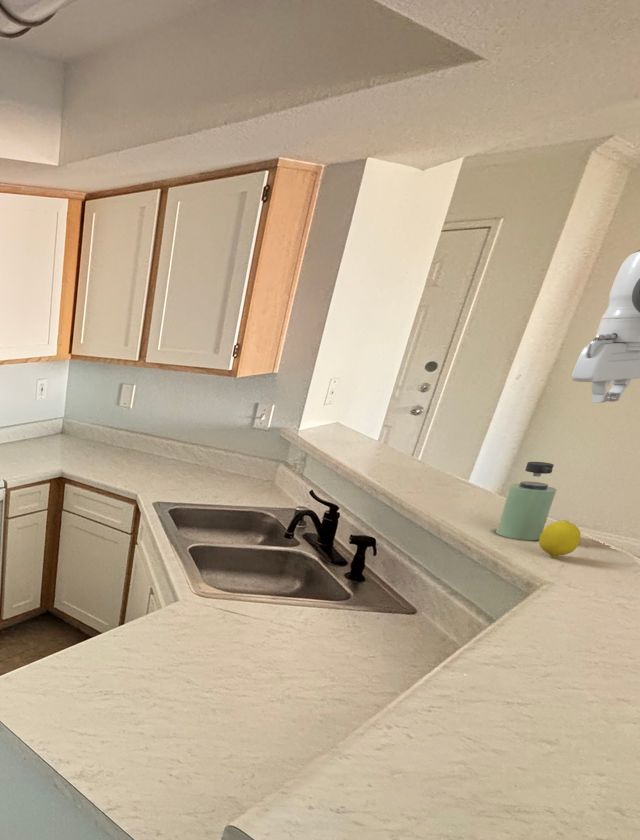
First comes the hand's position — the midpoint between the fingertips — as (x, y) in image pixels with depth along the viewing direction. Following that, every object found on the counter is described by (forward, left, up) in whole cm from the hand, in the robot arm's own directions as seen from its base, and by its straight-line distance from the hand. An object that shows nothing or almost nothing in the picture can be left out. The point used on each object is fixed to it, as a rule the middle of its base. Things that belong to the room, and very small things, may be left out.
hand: (604, 402), depth 124 cm
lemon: (+8, +21, -29) cm, 37 cm away
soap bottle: (+9, +6, -29) cm, 31 cm away
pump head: (+9, +7, -15) cm, 19 cm away
